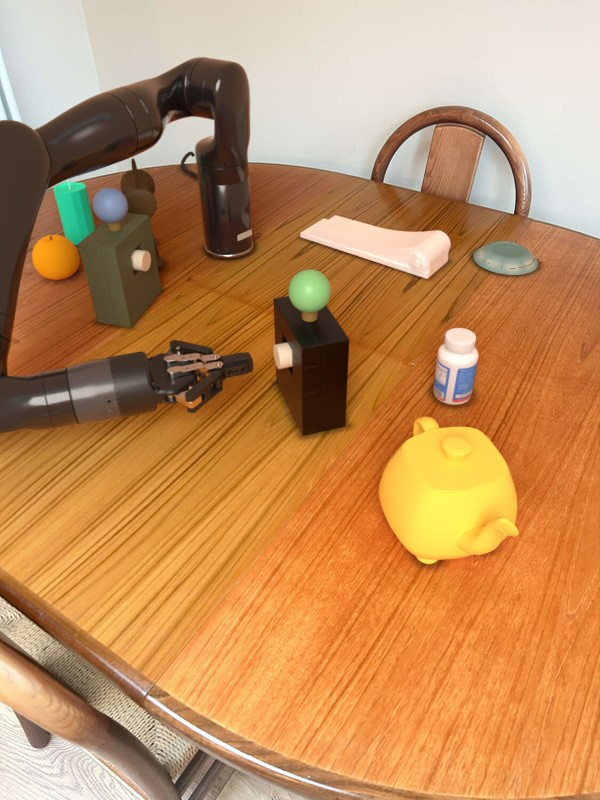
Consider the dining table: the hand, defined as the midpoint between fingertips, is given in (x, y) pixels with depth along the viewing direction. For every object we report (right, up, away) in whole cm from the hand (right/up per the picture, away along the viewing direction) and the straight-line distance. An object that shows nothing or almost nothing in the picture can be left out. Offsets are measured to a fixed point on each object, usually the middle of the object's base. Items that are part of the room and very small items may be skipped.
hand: (251, 361), depth 83 cm
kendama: (-22, +20, +39) cm, 49 cm away
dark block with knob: (+7, -5, +8) cm, 12 cm away
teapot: (+22, -20, -10) cm, 32 cm away
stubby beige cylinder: (+4, 0, +2) cm, 5 cm away
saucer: (+45, +23, +38) cm, 63 cm away
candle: (-38, +27, +48) cm, 67 cm away
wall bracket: (+20, +28, +41) cm, 53 cm away
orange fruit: (-38, +18, +37) cm, 55 cm away
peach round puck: (-19, +16, +23) cm, 34 cm away
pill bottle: (+27, -4, +9) cm, 29 cm away
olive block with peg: (-23, +11, +28) cm, 38 cm away
